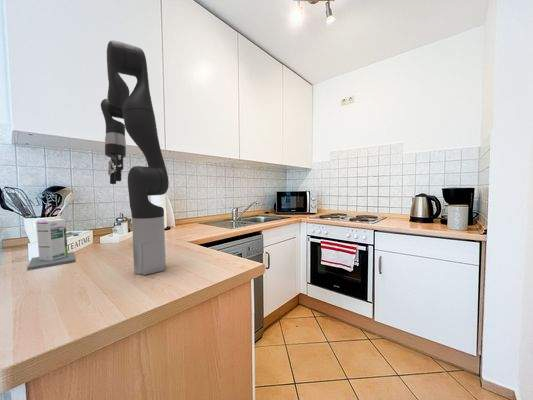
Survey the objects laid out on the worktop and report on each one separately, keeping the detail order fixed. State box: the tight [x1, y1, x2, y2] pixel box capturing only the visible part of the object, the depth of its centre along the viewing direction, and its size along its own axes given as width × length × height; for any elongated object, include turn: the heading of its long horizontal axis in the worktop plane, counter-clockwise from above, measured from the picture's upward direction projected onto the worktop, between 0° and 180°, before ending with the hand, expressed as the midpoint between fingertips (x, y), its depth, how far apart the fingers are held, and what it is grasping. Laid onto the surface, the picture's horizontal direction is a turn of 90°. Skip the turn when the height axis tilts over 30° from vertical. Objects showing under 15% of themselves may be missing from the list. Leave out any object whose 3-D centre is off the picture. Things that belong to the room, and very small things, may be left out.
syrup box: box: [35, 217, 68, 261], centre depth 84 cm, size 6×6×14 cm
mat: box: [27, 251, 76, 271], centre depth 84 cm, size 14×12×1 cm
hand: (115, 182), depth 97 cm, fingers open, 8 cm apart
